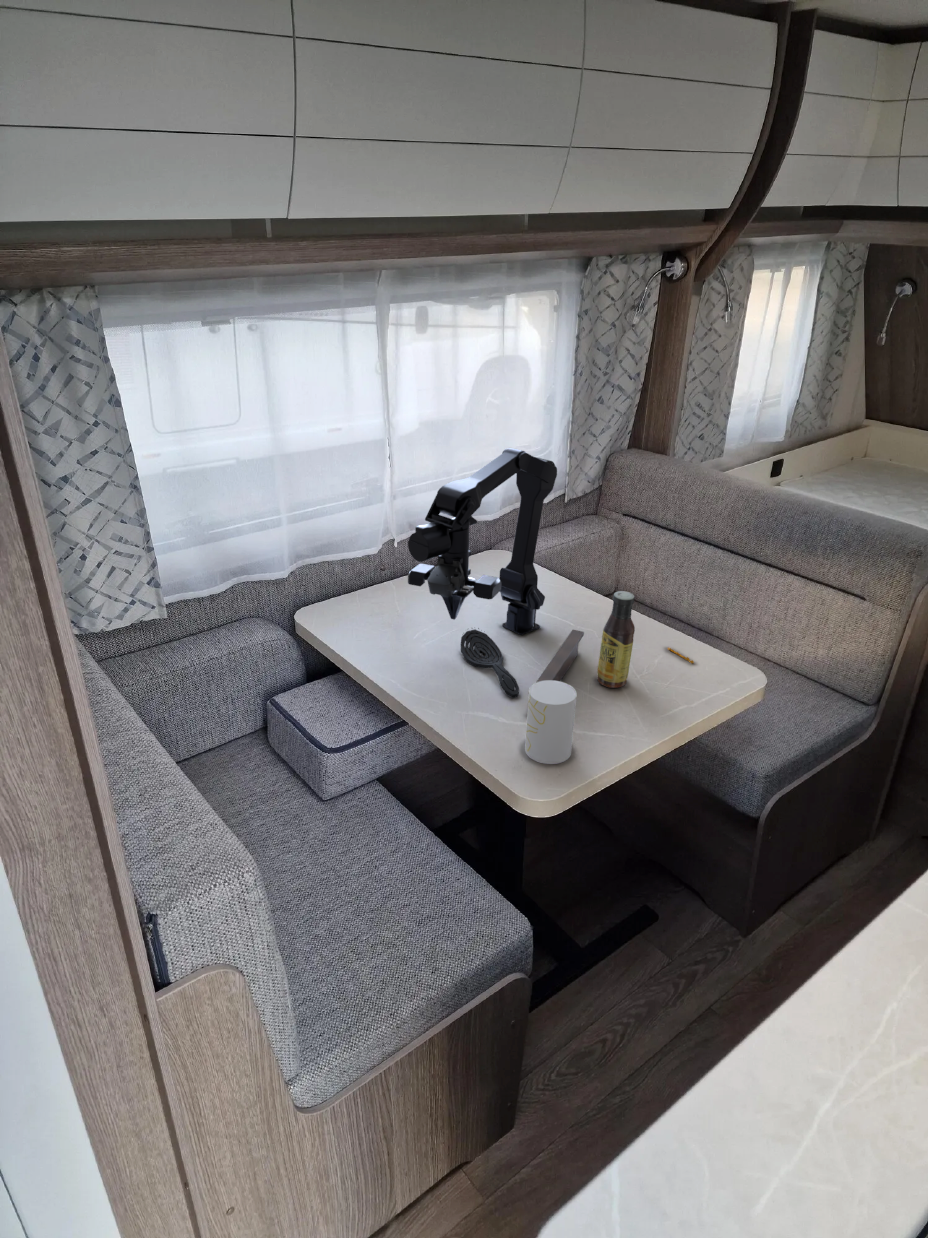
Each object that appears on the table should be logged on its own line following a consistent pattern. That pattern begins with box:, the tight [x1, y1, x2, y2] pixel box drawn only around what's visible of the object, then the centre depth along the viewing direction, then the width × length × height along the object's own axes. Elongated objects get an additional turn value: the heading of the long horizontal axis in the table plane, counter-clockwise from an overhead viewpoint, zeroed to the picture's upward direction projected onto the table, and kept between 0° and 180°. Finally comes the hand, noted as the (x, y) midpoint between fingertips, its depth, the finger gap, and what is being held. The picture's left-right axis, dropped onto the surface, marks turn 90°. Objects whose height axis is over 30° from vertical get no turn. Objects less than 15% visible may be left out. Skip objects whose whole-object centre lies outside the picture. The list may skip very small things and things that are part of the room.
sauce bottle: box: [596, 590, 636, 689], centre depth 163 cm, size 6×6×20 cm
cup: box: [524, 680, 578, 765], centre depth 142 cm, size 8×8×12 cm
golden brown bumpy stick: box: [667, 647, 695, 664], centre depth 178 cm, size 8×1×1 cm, turn 31°
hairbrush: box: [460, 627, 520, 699], centre depth 171 cm, size 8×4×25 cm
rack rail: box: [535, 629, 585, 683], centre depth 165 cm, size 28×3×6 cm, turn 157°
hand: (453, 618), depth 170 cm, fingers closed
